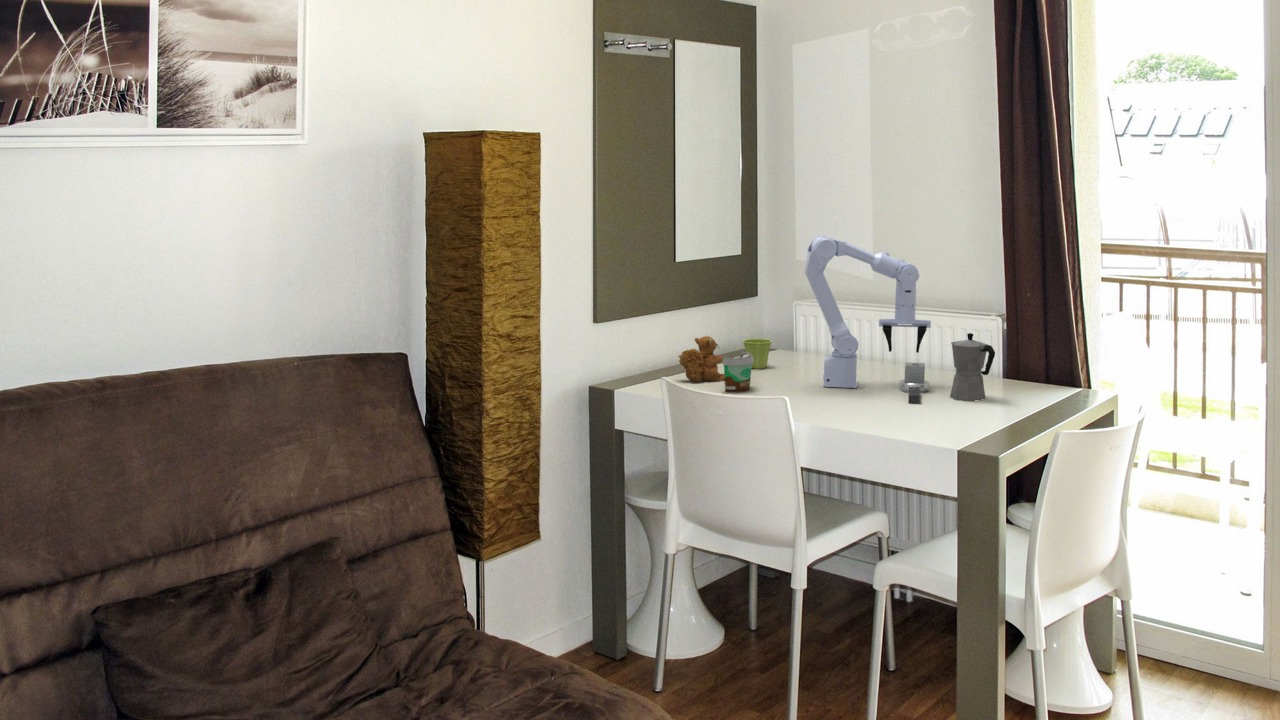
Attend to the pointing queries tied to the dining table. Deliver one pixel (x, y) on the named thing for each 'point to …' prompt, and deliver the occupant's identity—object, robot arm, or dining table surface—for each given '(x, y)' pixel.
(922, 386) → the ratchet
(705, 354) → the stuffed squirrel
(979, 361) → the coffeepot
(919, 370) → the grey cube
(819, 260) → the robot arm
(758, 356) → the plant pot
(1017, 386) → the dining table surface
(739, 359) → the food container
